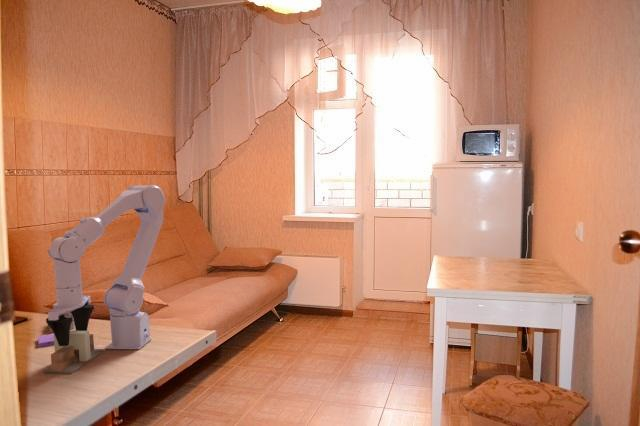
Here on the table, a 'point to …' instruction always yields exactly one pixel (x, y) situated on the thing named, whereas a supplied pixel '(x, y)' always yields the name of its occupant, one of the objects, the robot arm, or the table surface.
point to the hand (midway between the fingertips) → (73, 339)
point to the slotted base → (69, 359)
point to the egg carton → (71, 322)
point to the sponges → (46, 340)
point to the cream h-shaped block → (78, 344)
